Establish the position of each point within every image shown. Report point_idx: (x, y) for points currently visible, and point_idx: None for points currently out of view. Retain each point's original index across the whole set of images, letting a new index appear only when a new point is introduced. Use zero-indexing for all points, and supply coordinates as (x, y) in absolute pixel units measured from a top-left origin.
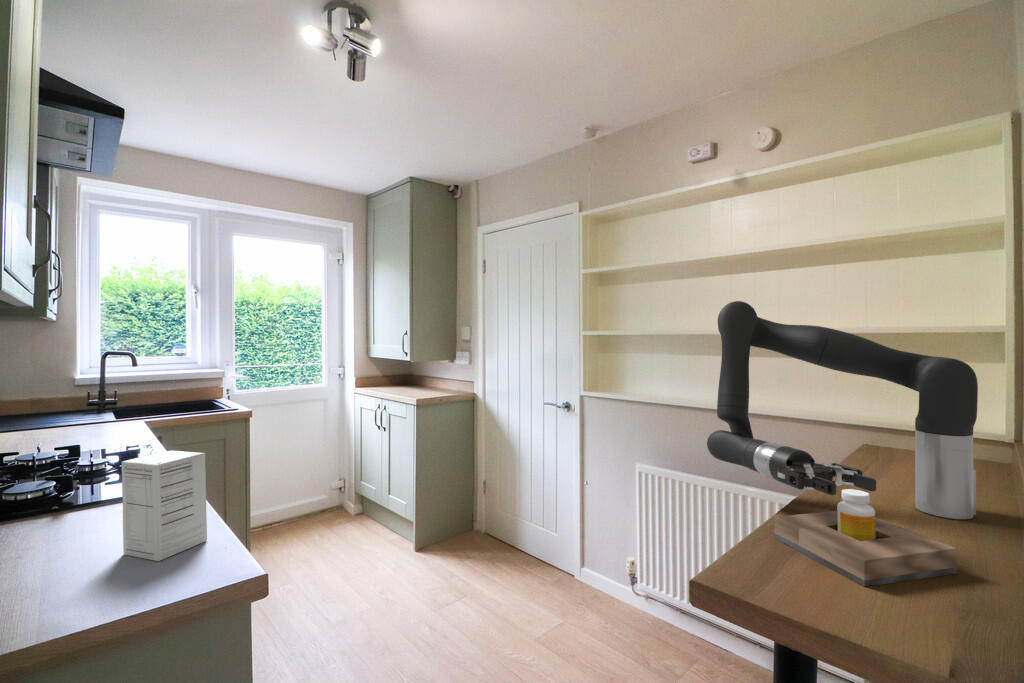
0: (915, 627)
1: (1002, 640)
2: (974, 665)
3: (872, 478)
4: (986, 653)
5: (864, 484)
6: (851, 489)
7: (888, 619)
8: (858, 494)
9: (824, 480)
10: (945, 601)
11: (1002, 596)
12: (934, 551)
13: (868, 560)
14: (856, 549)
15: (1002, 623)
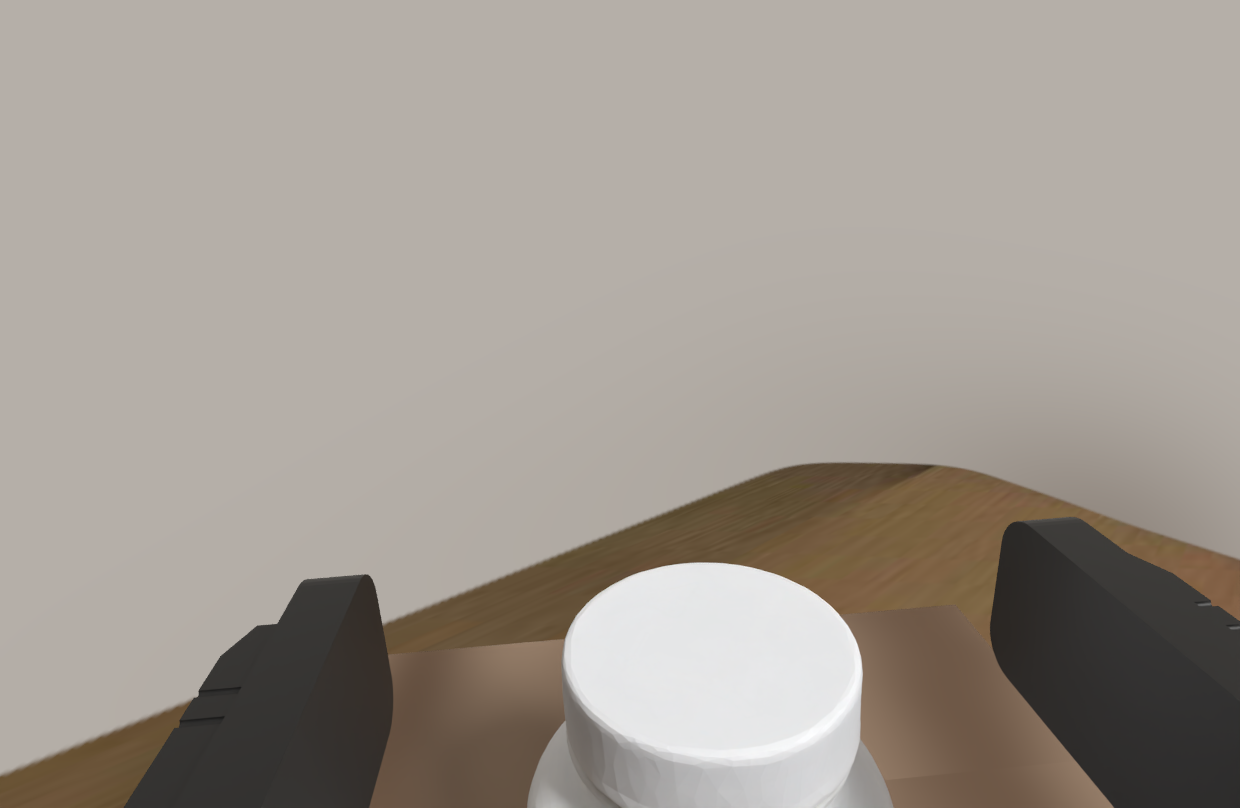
0: (900, 547)
1: (702, 511)
2: (858, 474)
3: (300, 593)
4: (793, 490)
5: (358, 745)
6: (664, 726)
7: (964, 572)
8: (734, 588)
9: (1158, 579)
10: None
11: (415, 632)
12: (479, 647)
13: (927, 610)
14: (931, 691)
15: (617, 547)
